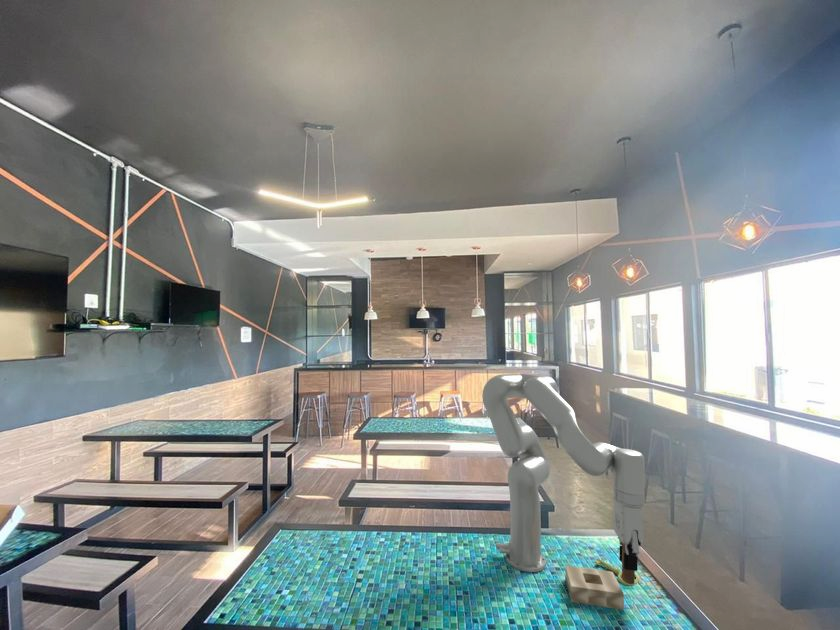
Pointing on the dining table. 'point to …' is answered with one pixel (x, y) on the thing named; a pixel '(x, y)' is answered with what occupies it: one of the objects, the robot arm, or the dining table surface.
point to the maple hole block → (594, 587)
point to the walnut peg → (627, 575)
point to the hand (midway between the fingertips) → (628, 564)
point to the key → (615, 572)
